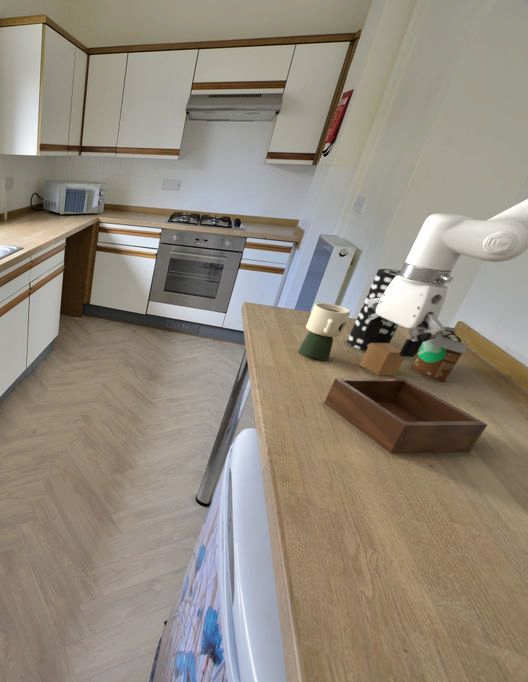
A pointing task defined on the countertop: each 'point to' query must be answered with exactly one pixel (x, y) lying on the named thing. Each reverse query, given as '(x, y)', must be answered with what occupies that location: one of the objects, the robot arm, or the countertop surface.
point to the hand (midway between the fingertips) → (386, 346)
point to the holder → (403, 415)
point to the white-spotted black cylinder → (356, 335)
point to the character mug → (323, 329)
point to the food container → (439, 355)
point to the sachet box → (382, 359)
